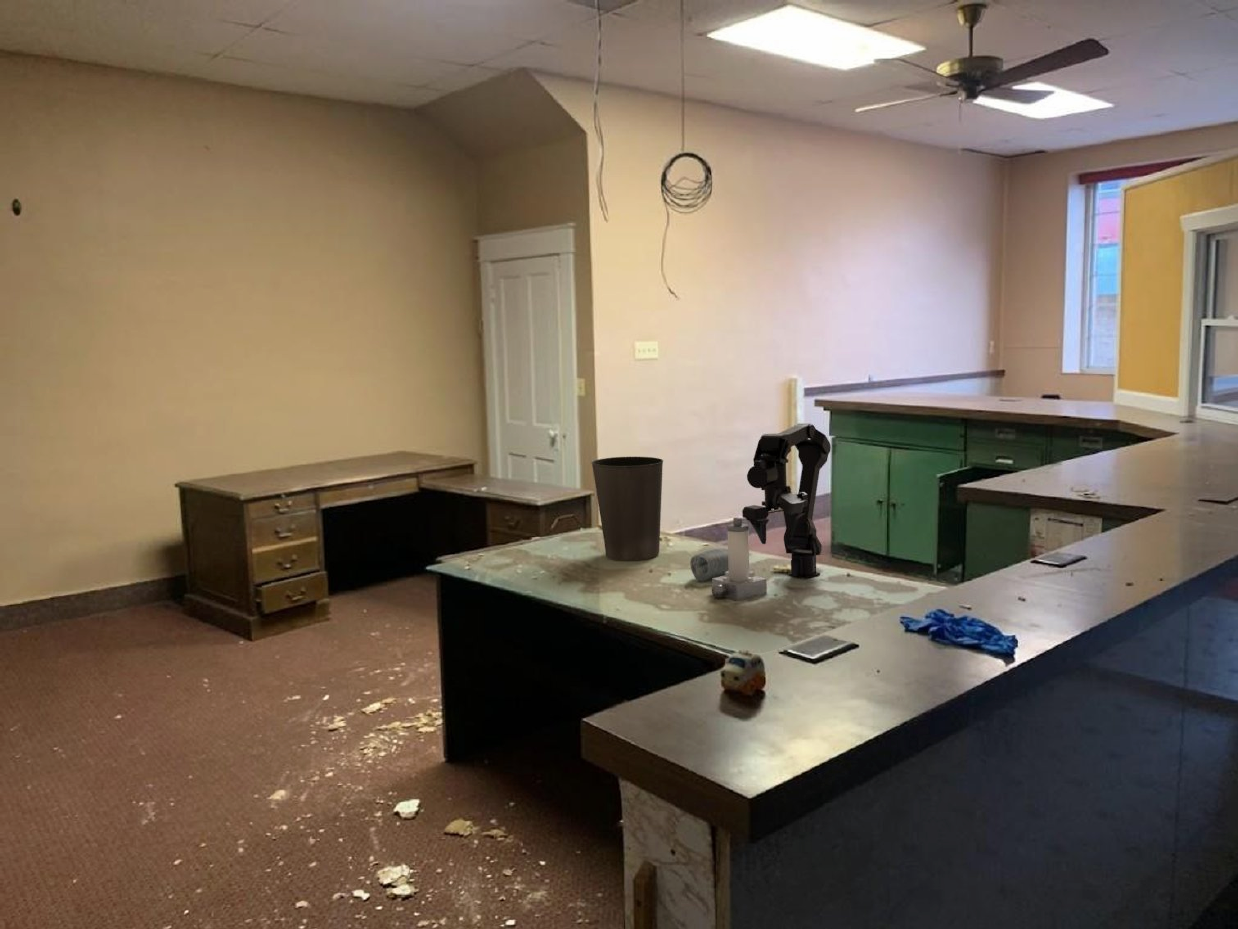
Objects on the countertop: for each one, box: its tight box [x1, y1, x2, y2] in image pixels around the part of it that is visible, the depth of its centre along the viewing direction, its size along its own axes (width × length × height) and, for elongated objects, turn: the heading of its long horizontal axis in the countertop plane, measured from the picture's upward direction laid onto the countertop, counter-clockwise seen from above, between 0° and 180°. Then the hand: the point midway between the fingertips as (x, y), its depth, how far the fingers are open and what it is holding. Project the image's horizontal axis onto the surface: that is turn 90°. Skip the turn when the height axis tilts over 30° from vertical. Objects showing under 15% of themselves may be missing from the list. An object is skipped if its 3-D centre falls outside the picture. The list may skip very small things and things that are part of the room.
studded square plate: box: [711, 570, 768, 602], centre depth 240 cm, size 13×10×5 cm
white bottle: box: [726, 517, 750, 581], centre depth 240 cm, size 6×6×16 cm
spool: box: [690, 547, 729, 583], centre depth 258 cm, size 14×10×10 cm
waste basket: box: [591, 456, 664, 562], centre depth 289 cm, size 27×20×30 cm
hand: (777, 541), depth 242 cm, fingers open, 9 cm apart
